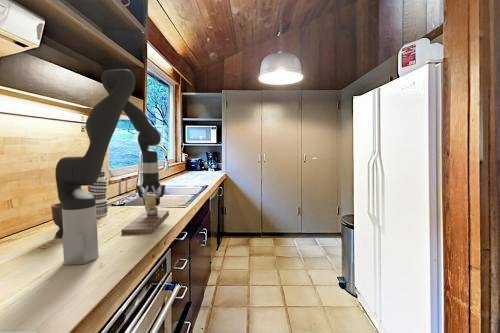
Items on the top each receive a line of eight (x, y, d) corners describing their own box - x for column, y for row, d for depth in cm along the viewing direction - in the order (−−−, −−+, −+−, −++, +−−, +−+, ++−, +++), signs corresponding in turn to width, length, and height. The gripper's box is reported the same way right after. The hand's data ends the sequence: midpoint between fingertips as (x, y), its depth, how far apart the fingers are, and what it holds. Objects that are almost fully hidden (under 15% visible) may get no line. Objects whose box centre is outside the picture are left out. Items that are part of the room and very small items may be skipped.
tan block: (148, 206, 137) (147, 194, 137) (158, 205, 138) (158, 194, 137) (140, 211, 126) (140, 198, 126) (152, 211, 127) (151, 198, 126)
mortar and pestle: (90, 231, 116) (87, 185, 115) (79, 238, 108) (76, 188, 106) (61, 232, 115) (58, 186, 114) (48, 239, 107) (45, 189, 105)
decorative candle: (92, 213, 147) (89, 167, 145) (110, 212, 150) (108, 167, 148) (86, 217, 139) (83, 169, 137) (106, 216, 141) (103, 168, 139)
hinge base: (151, 233, 113) (150, 207, 112) (121, 234, 112) (120, 208, 111) (168, 214, 145) (168, 193, 144) (145, 214, 144) (145, 194, 143)
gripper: (132, 172, 129) (134, 207, 131) (163, 172, 130) (164, 206, 132) (138, 171, 137) (139, 204, 138) (167, 170, 138) (168, 203, 139)
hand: (151, 205), depth 135 cm, fingers closed on tan block, 5 cm apart
